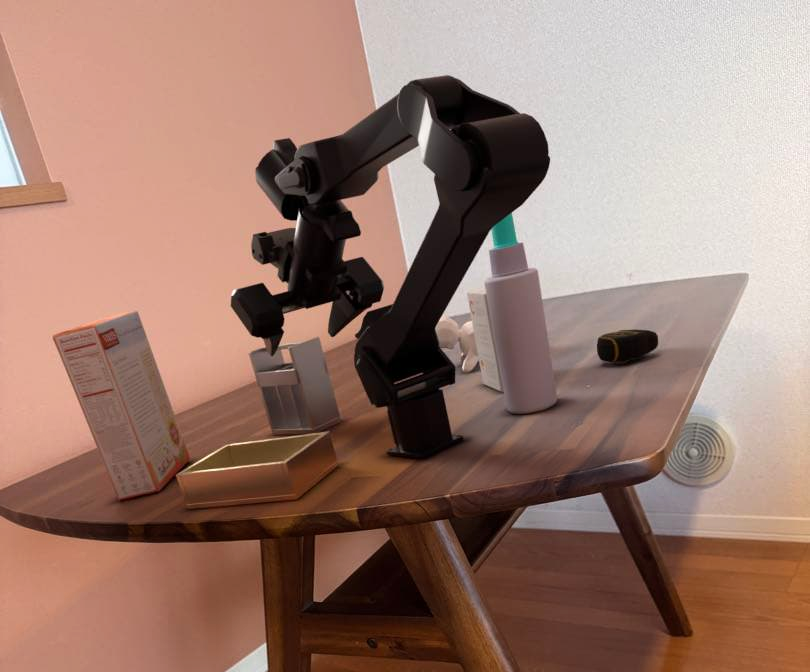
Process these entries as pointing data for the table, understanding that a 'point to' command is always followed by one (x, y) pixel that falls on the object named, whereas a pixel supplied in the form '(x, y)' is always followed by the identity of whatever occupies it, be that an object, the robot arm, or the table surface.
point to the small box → (484, 338)
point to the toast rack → (296, 388)
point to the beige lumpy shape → (465, 336)
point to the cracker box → (124, 402)
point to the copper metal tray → (258, 471)
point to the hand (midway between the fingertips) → (301, 343)
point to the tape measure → (626, 345)
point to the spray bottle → (519, 324)
